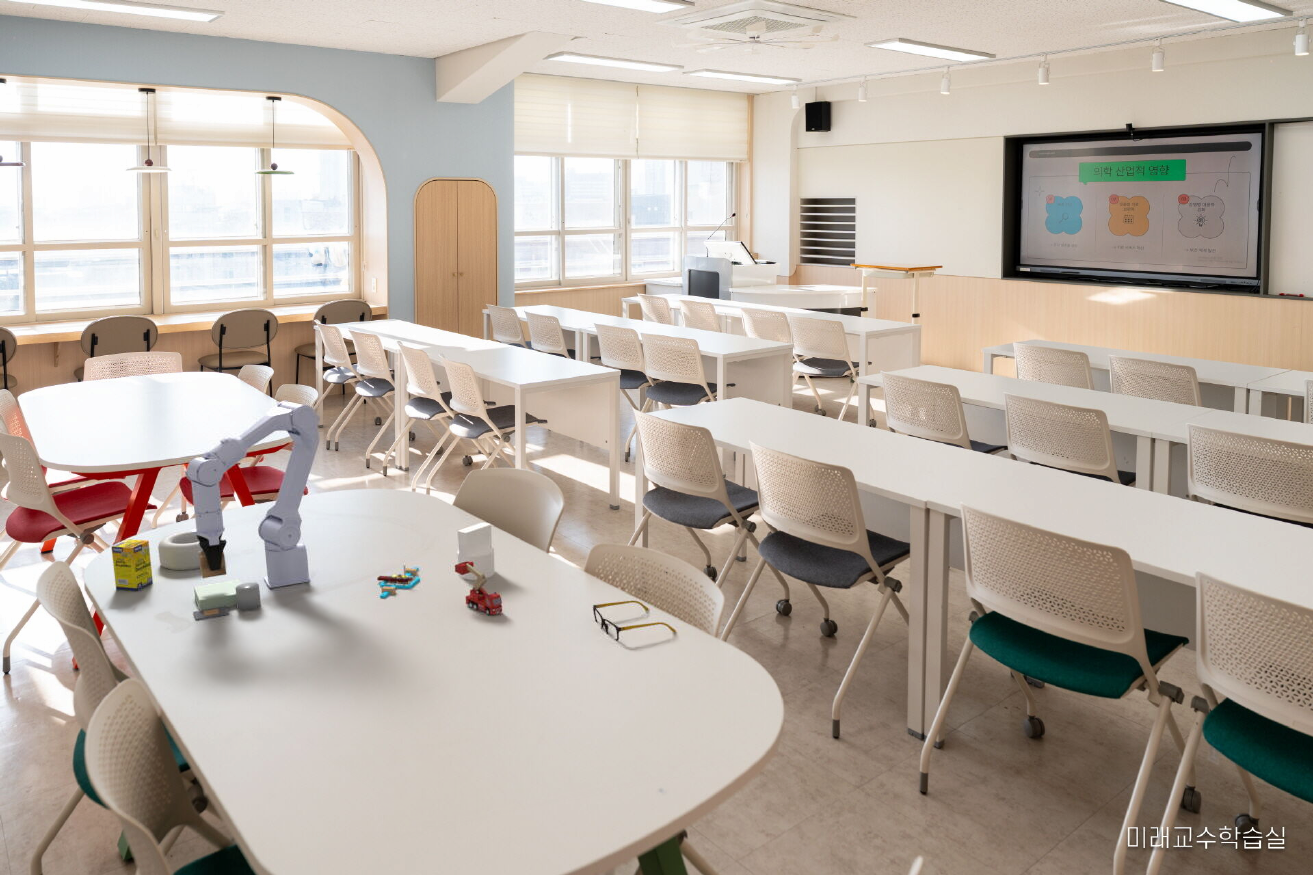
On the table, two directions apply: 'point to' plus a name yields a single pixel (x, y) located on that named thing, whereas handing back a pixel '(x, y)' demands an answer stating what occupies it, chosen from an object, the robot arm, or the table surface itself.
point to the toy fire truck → (480, 591)
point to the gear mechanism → (398, 581)
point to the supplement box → (132, 564)
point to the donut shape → (180, 551)
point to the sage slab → (216, 594)
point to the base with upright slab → (476, 549)
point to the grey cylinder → (248, 597)
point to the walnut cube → (206, 570)
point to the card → (211, 613)
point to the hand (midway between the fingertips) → (214, 566)
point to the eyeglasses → (626, 626)
